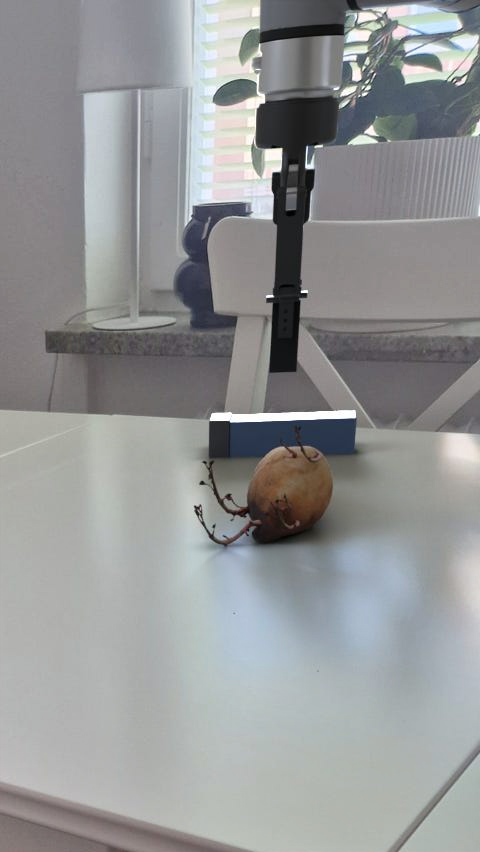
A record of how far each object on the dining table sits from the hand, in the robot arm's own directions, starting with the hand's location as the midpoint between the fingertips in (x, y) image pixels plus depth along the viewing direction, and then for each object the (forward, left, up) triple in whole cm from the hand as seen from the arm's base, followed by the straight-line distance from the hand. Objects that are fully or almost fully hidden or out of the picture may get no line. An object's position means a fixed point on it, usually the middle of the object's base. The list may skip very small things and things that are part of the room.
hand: (282, 370), depth 119 cm
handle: (0, +7, -7) cm, 10 cm away
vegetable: (+1, +32, -7) cm, 33 cm away
